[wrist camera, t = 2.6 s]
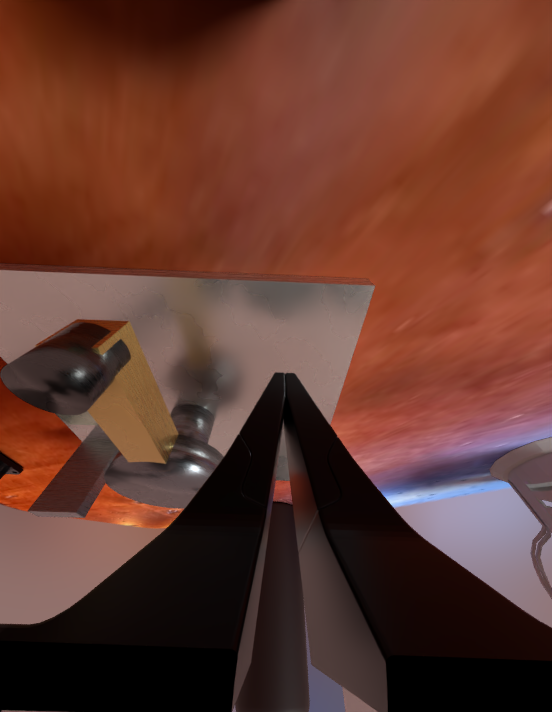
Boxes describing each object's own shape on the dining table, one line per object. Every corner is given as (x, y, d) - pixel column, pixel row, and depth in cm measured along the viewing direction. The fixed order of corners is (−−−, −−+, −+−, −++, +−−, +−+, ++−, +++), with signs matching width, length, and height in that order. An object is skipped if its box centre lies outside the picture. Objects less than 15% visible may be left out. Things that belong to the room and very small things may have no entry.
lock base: (310, 471, 23) (319, 550, 18) (119, 465, 23) (73, 542, 18) (368, 278, 10) (452, 359, 5) (-59, 261, 10) (-397, 327, 5)
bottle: (243, 511, 31) (206, 833, 16) (268, 497, 28) (253, 892, 12) (280, 520, 34) (281, 809, 18) (308, 508, 30) (338, 853, 14)
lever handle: (231, 483, 15) (223, 530, 13) (143, 480, 15) (121, 527, 13) (194, 316, 7) (157, 367, 5) (4, 308, 7) (-116, 357, 5)
